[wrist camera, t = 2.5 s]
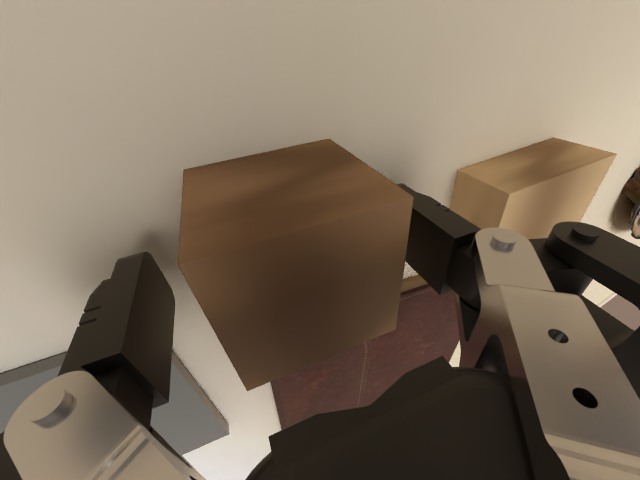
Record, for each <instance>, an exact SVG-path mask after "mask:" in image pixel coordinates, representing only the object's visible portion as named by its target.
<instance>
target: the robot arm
mask: <svg viewBox="0 0 640 480" xmlns="http://www.w3.org/2000/svg"><path fill="white" fill-rule="evenodd" d="M397 186H399V187H400V188H402V189H403V190H404V191H406V192H407V193H409V194H410V195H412V196H413V197H414V198H413V205H412V213H411V220H410V228H409V235H408V242H407V250H406V257H405V261H406V262H407V263H408V264H409V265H410V266H411V267H412V268H413V269H414V270H415V271H416V272H417V273H418V274H419V275H420V276H421V277H422V278H423V279H424V280H425V281H426V282H427V283H428V284H429V285H430V286H431V287H432V288H433V289H434V290H435V291H436V292H437V293H438V294H439V295H442V294H445V293H447V292H450V291H452V290H454V291H455V292H456V293H457V295H456V299H455V304H456V312H457V321H458V329H459V337H460V345H461V357H460V364H459V367H451V365H450V364H449V363H448V362H447V360H446V359H445V358H444V357H443V356H441V357H439V358H437V359H435V360H432V361H430V362H428V363H426V364H424V365H422V366H419V367H417V368H415V369H413V370H411V371H409V372H407V373H405V374H404V375H403V376H401V377H400V378H399V379H398V380H397V381H396V382H395V383H394V384H393V385H392V386H391V387H390V388H388V389H387V390H386V391H385V392H384V393H383V394H382V395H381V396H380V397H379V398H378V399H377V400H375V401H374V402H373V403H372V404H370V405H368V406H365V407H360V408H353V409H347V410H340V411H334V412H327V413H321V414H316V415H314V416H312V417H310V418H307V419H305V420H303V421H301V422H299V423H297V424H295V425H292V426H290V427H288V428H286V429H284V430H282V431H279V432H277V433H275V434H273V435H271V436H269V441H270V446H271V452H270V453H269V454H268V455H267V456H266V457H265V458H263V460H262V461H261V462H260V463H259V464H258V465H257V466H256V467H255V468H254V469H253V470H252V472H251V473H250V474H249V476H248V477H247V478H246V480H640V327H639V328H638V329H637V330H635V331H634V330H632V329H630V328H629V327H627V326H626V325H624V324H623V323H622V322H620V321H619V320H617V319H616V318H614V317H613V316H611V315H610V314H608V313H607V312H606V311H604V310H603V309H601V308H600V307H598V306H597V305H595V304H594V303H592V302H591V301H589V300H588V299H587V298H585V297H584V296H582V293H583V292H584V291H585V289H586V288H587V286H588V285H589V284H590V282H591V281H592V280H593V279H594V280H596V281H597V282H599V283H600V284H602V285H604V286H605V287H607V288H609V289H610V290H612V291H613V292H615V293H617V294H618V295H620V296H622V297H623V298H625V299H626V300H628V301H629V302H631V303H633V304H634V305H635V306H637V307H638V308H639V310H640V247H638V246H636V245H634V244H632V243H630V242H628V241H626V240H624V239H622V238H620V237H617V236H615V235H613V234H611V233H609V232H607V231H605V230H603V229H601V228H598V227H596V226H593V225H589V224H585V223H581V222H572V221H567V222H560V223H557V224H555V225H554V227H553V228H552V230H551V232H550V234H549V236H548V238H538V239H527V238H526V237H524V236H523V235H521V234H519V233H517V232H514V231H512V230H508V229H504V228H494V227H493V228H485V229H480V228H479V227H477V226H476V225H474V224H472V223H471V222H469V221H468V220H466V219H464V218H463V217H461V216H460V215H458V214H457V213H455V212H453V211H452V210H451V211H450V210H449V208H447V207H445V206H444V205H441V203H439V202H438V201H436V200H434V199H433V198H431V197H429V196H426V195H423V194H420V193H417V192H415V191H413V190H412V189H410V188H409V187H407V186H406V185H404V184H397ZM84 312H85V313H84V314H82V317H81V319H80V322H79V325H80V326H79V327H77V329H76V332H75V334H74V337H73V339H72V342H71V344H70V346H69V349H68V351H67V354H66V356H65V359H64V361H63V364H62V366H61V369H60V371H59V374H58V376H57V377H56V378H54V379H52V380H50V381H49V382H47V383H45V384H44V385H42V386H41V387H40V388H38V389H37V390H36V391H34V392H33V393H32V394H31V395H30V396H29V397H28V398H27V399H26V400H25V401H24V402H23V403H22V404H21V405H20V406H19V407H18V408H17V410H16V411H15V412H14V414H13V415H12V417H11V419H10V420H9V422H8V424H7V426H6V429H5V431H4V432H2V433H1V434H0V480H206V479H205V478H204V477H203V476H202V475H201V474H199V473H198V472H197V471H196V470H195V469H194V468H193V467H192V466H191V465H190V463H189V462H188V461H187V460H186V459H185V458H184V457H183V456H182V455H181V454H180V453H179V452H178V451H177V450H176V449H175V448H174V447H173V446H172V445H171V444H170V443H169V442H168V441H167V440H166V439H165V438H164V437H163V436H162V435H161V434H160V433H159V432H158V431H157V430H156V429H155V428H154V427H153V426H152V425H151V415H152V409H154V408H156V407H159V406H161V405H164V404H166V403H169V393H170V377H171V361H172V345H173V329H174V313H175V299H174V295H173V292H172V289H171V287H170V285H169V284H168V282H167V280H166V279H165V277H164V275H163V274H162V272H161V270H160V269H159V267H158V265H157V264H156V262H155V260H154V259H153V257H152V256H151V254H150V253H148V252H143V253H139V254H136V255H132V256H128V257H125V258H121V259H118V260H117V262H116V265H115V268H114V271H113V273H112V276H111V279H108V280H104V281H103V282H102V283H101V284H100V285H99V286H98V287H97V288H96V290H95V291H94V292H93V293H92V294H91V295H90V297H89V300H88V302H87V304H86V307H85V309H84Z"/></svg>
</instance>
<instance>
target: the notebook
mask: <svg viewBox="0 0 640 480" xmlns="http://www.w3.org/2000/svg"><path fill="white" fill-rule="evenodd" d="M456 295H457V293H456V292H455V291H454V290H452V291H450V292H447V293H445V294H442V295H439V294H438V293H437V292H436V291H435V290H434V289H433V288H432V287H431V286H430V285H429V284H428V283H427V282H426V281H425V280H424V279H423V278H422V277H421V276H420V275H417V276H413V277H410V278H407V279H403V280H402V287H401V294H400V302H399V309H398V317H397V324H396V329H395V330H393V331H390V332H388V333H386V334H383V335H381V336H378V337H376V338H374V339H371V340H369V341H366V342H364V343H362V344H359V345H357V346H354V347H352V348H350V349H347V350H345V351H342V352H340V353H338V354H335V355H333V356H330V357H328V358H326V359H323V360H321V361H318V362H316V363H314V364H311V365H309V366H306V367H304V368H302V369H299V370H297V371H294V372H292V373H290V374H287V375H285V376H282V377H280V378H277V379H275V380H273V381H271V385H272V389H273V394H274V398H275V402H276V407H277V411H278V415H279V419H280V424H281V428H282V430H284V429H286V428H288V427H290V426H292V425H295V424H297V423H299V422H301V421H303V420H305V419H307V418H310V417H312V416H314V415H316V414H321V413H327V412H334V411H340V410H347V409H353V408H360V407H365V406H368V405H370V404H372V403H373V402H374V401H375V400H377V399H378V398H379V397H380V396H381V395H382V394H383V393H384V392H385V391H386V390H387V389H388V388H390V387H391V386H392V385H393V384H394V383H395V382H396V381H397V380H398V379H399V378H400V377H401V376H403V375H404V374H405V373H407V372H409V371H411V370H413V369H415V368H417V367H419V366H422V365H424V364H426V363H428V362H430V361H432V360H435V359H437V358H439V357H441V356H443V357H444V358H445V359H446V360H447V362H448V363H449V361H450V359H451V357H452V355H453V353H454V350H455V348H456V346H457V344H458V342H459V340H460V337H459V329H458V321H457V312H456V304H455V299H456Z"/></svg>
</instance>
